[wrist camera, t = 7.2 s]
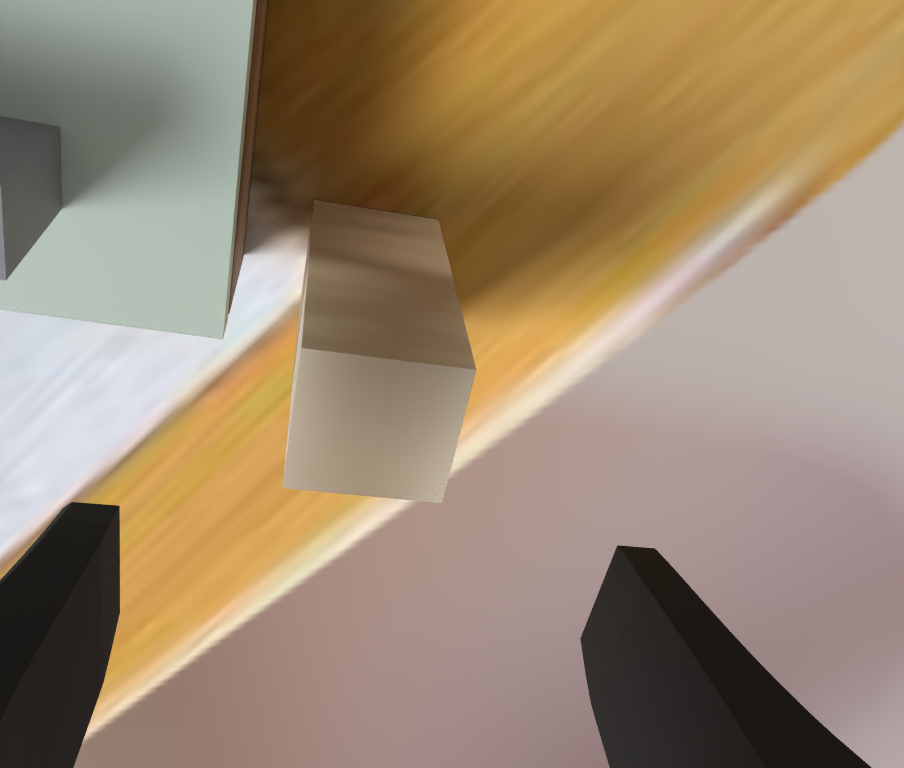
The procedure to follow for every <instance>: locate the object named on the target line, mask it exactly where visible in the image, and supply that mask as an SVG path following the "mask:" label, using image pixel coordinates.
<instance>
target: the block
mask: <svg viewBox="0 0 904 768" xmlns="http://www.w3.org/2000/svg"><path fill="white" fill-rule="evenodd" d="M475 372H476V367H475V363H474V359H473V355H472V351H471V347H470V343H469V339H468V335H467V331H466V327H465V323H464V319H463V315H462V311H461V307H460V303H459V299H458V295H457V291H456V287H455V283H454V279H453V275H452V271H451V268H450V264H449V260H448V256H447V252H446V248H445V244H444V240H443V236H442V232H441V228H440V224H439V220H438V219H431V218H425V217H419V216H413V215H406V214H400V213H394V212H388V211H381V210H375V209H369V208H362V207H356V206H350V205H344V204H337V203H331V202H325V201H319V200H314V203H313V210H312V218H311V226H310V234H309V241H308V249H307V257H306V265H305V272H304V280H303V288H302V296H301V303H300V311H299V321H298V332H297V342H296V353H295V363H294V374H293V384H292V395H291V405H290V416H289V426H288V437H287V447H286V458H285V468H284V479H283V488H286V489H297V490H308V491H318V492H329V493H340V494H351V495H362V496H373V497H383V498H394V499H405V500H416V501H428V502H438V503H442V500H443V496H444V492H445V489H446V485H447V481H448V477H449V473H450V469H451V465H452V461H453V458H454V454H455V450H456V446H457V442H458V438H459V434H460V430H461V427H462V423H463V419H464V415H465V411H466V407H467V403H468V400H469V396H470V392H471V388H472V384H473V380H474V376H475Z"/></svg>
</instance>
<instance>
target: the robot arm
mask: <svg viewBox="0 0 904 768" xmlns="http://www.w3.org/2000/svg"><path fill="white" fill-rule="evenodd" d="M119 614H120V523H119V506H115V505H102V504H89V503H77V502H72V503H70V504H69V505H67V506H66V507H64V508H63V509H62V510H61V511H60V513H59V514H58V515H57V516H56V518H55V519H54V520H53V521H52V522H51V524H50V525H49V526H48V527H47V528H46V530H45V531H44V532H43V533H42V534H41V535H40V537H39V538H38V539H37V540H36V541H35V542H34V544H33V545H32V546H31V547H30V548H29V549H28V550H27V552H26V553H25V554H24V555H23V556H22V557H21V558H20V559H19V560H18V561H17V563H16V564H15V565H14V566H13V567H12V568H11V569H10V570H9V571H8V572H7V573H6V575H5V576H4V577H3V578H2V579H1V580H0V768H73V767H74V764H75V761H76V758H77V756H78V753H79V750H80V747H81V745H82V742H83V739H84V736H85V733H86V731H87V728H88V725H89V722H90V719H91V716H92V714H93V711H94V708H95V705H96V702H97V700H98V697H99V694H100V691H101V688H102V685H103V682H104V678H105V674H106V670H107V666H108V661H109V657H110V653H111V649H112V644H113V640H114V636H115V631H116V627H117V622H118V618H119ZM581 645H582V652H583V659H584V666H585V672H586V678H587V684H588V689H589V695H590V700H591V705H592V708H593V712H594V716H595V719H596V723H597V726H598V729H599V733H600V736H601V740H602V743H603V746H604V750H605V753H606V757H607V760H608V763H609V766H610V768H871V767H870V766H869V765H868V764H867V763H866V762H864V761H863V760H862V759H861V758H860V757H859V756H857V755H856V754H855V753H854V752H853V751H852V750H850V749H849V748H848V747H847V746H846V745H845V744H843V743H842V742H841V741H840V740H839V739H838V738H837V737H835V736H834V735H833V734H832V733H831V732H830V731H829V730H828V729H827V728H825V727H824V726H823V725H822V724H821V723H820V722H819V721H818V720H817V719H815V717H814V716H812V715H811V714H810V713H809V712H808V711H807V710H806V709H805V708H804V707H803V706H802V705H801V704H800V703H799V702H798V701H797V700H796V699H795V698H794V697H793V696H792V695H791V694H790V693H789V692H788V691H787V690H786V689H785V688H784V687H783V686H782V685H781V684H780V683H779V682H778V681H777V680H776V679H775V678H774V677H773V676H772V675H771V674H770V673H769V672H768V671H767V670H766V669H765V668H764V667H763V666H762V665H761V664H760V663H759V662H758V661H757V660H756V659H755V658H754V657H753V656H752V654H750V652H749V651H748V650H747V649H746V648H745V647H744V646H743V645H742V644H741V643H740V642H739V641H738V640H737V638H736V637H735V636H734V635H733V634H732V633H731V632H730V631H729V630H728V629H727V627H726V626H725V625H724V624H723V623H722V622H721V621H720V620H719V619H718V618H717V616H716V615H715V614H714V613H713V612H712V611H711V610H710V609H709V608H708V606H707V605H706V604H705V603H704V602H703V601H702V600H701V599H700V598H699V597H698V595H697V594H696V593H695V592H694V591H693V590H692V589H691V588H690V586H689V585H688V584H687V583H686V582H685V581H684V580H683V579H682V577H681V576H680V575H679V574H678V573H677V572H676V571H675V569H674V568H673V567H672V566H671V565H670V564H669V563H668V562H667V561H666V560H665V559H664V558H663V556H661V555H660V553H659V552H658V551H657V550H656V549H654V548H642V547H629V546H617V548H616V550H615V553H614V556H613V558H612V560H611V563H610V565H609V568H608V571H607V573H606V576H605V578H604V581H603V584H602V586H601V588H600V591H599V593H598V596H597V598H596V601H595V603H594V606H593V608H592V611H591V613H590V616H589V618H588V621H587V623H586V626H585V629H584V631H583V633H582V637H581Z"/></svg>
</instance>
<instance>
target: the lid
mask: <svg viewBox="0 0 904 768" xmlns="http://www.w3.org/2000/svg"><path fill="white" fill-rule="evenodd" d="M256 4H257V0H0V310H7V311H15V312H22V313H30V314H37V315H45V316H52V317H60V318H67V319H75V320H82V321H90V322H97V323H105V324H112V325H120V326H127V327H135V328H142V329H150V330H157V331H165V332H172V333H179V334H187V335H194V336H202V337H209V338H217V339H223V337H224V333H225V329H226V325H227V321H228V310H229V299H230V288H231V277H232V266H233V255H234V244H235V233H236V222H237V211H238V200H239V189H240V179H241V168H242V157H243V146H244V135H245V124H246V113H247V102H248V91H249V80H250V69H251V58H252V47H253V37H254V26H255V15H256Z"/></svg>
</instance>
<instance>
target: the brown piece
mask: <svg viewBox="0 0 904 768" xmlns="http://www.w3.org/2000/svg"><path fill="white" fill-rule="evenodd" d="M268 2H269V0H257V4H256V15H255V26H254V37H253V47H252V58H251V69H250V80H249V91H248V102H247V113H246V124H245V135H244V146H243V157H242V168H241V179H240V189H239V200H238V211H237V222H236V233H235V244H234V255H233V266H232V277H231V288H230V299H229V310H228V314H229V313H230V309H231V304H232V300H233V296H234V292H235V288H236V284H237V280H238V276H239V272H240V268H241V264H242V260H243V256H244V246H245V236H246V226H247V216H248V206H249V195H250V185H251V175H252V165H253V155H254V145H255V134H256V124H257V114H258V104H259V94H260V83H261V73H262V63H263V53H264V43H265V32H266V22H267V12H268Z"/></svg>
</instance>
